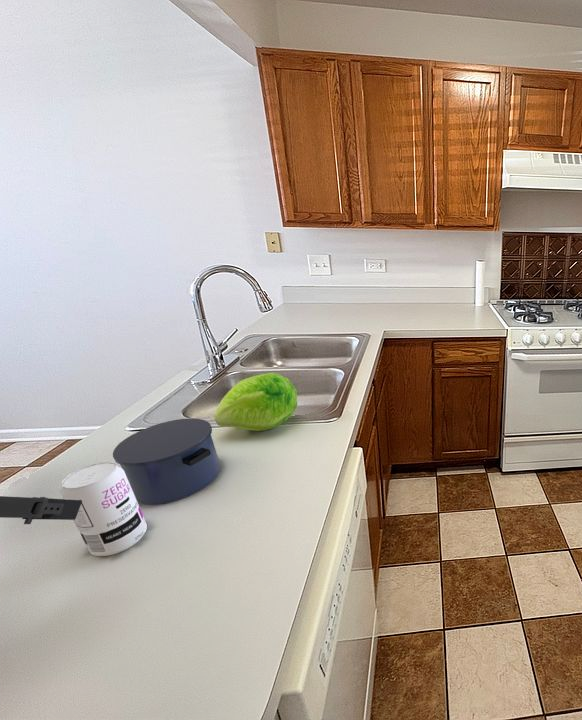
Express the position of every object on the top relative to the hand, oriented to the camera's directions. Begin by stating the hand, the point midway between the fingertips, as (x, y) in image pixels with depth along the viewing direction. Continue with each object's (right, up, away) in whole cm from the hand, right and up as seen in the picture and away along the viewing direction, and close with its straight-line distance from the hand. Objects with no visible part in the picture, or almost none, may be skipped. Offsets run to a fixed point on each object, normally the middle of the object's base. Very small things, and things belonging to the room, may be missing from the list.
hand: (32, 509), depth 59 cm
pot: (-1, -5, +30) cm, 30 cm away
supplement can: (0, -11, +14) cm, 18 cm away
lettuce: (+7, +4, +50) cm, 51 cm away
